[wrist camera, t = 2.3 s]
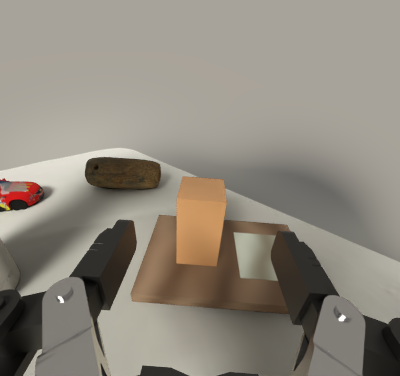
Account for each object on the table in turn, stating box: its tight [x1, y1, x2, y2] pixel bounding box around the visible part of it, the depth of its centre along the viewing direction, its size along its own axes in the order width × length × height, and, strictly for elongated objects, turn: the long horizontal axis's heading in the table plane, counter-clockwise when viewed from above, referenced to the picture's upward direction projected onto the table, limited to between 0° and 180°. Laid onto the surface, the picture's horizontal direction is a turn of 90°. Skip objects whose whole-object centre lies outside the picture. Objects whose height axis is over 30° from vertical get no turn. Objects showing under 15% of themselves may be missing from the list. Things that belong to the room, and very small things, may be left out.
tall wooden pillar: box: [176, 176, 227, 267], centre depth 25 cm, size 5×5×10 cm
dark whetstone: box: [85, 157, 161, 189], centre depth 43 cm, size 15×7×7 cm, turn 98°
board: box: [131, 215, 290, 314], centre depth 26 cm, size 22×14×8 cm, turn 87°
